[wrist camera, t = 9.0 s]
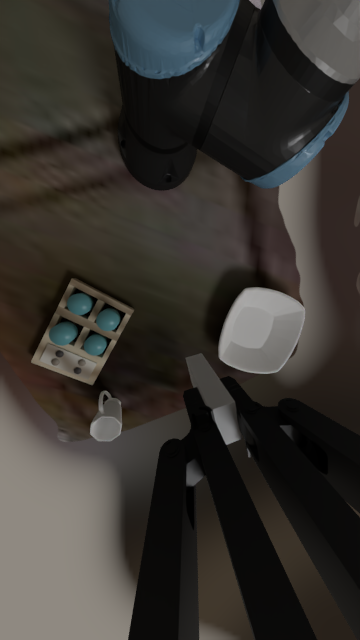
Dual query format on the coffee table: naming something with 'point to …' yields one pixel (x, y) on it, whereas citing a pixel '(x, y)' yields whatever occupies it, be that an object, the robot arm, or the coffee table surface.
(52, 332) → the button
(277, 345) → the bowl
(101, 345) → the button
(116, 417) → the cup
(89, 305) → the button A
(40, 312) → the coffee table surface
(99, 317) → the button
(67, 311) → the board
